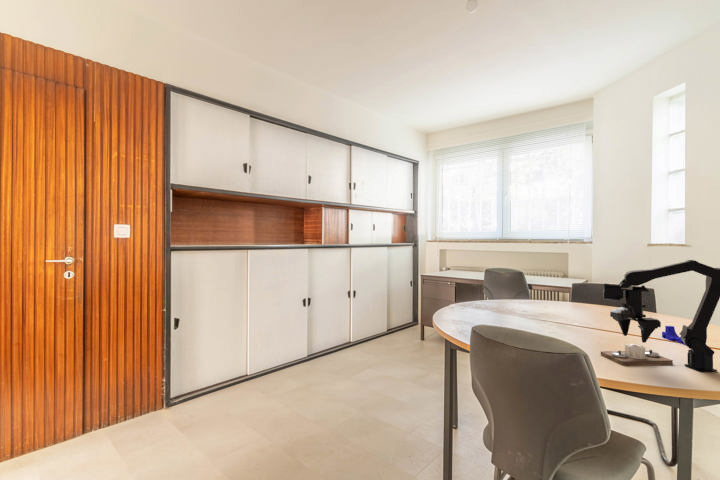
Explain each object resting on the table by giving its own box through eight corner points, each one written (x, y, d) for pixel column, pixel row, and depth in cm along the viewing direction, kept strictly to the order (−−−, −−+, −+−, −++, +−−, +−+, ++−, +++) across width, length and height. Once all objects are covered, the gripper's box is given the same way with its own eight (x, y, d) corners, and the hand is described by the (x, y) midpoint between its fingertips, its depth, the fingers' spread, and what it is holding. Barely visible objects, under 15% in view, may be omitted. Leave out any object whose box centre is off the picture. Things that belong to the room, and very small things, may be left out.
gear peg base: (662, 357, 136) (662, 352, 136) (618, 358, 136) (618, 353, 136) (651, 353, 141) (651, 347, 141) (608, 354, 141) (608, 348, 141)
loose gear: (649, 358, 135) (649, 347, 135) (633, 358, 135) (633, 348, 135) (636, 352, 142) (635, 342, 142) (621, 353, 142) (621, 343, 142)
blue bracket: (662, 337, 168) (661, 325, 168) (672, 337, 167) (672, 325, 167) (681, 345, 156) (680, 332, 156) (692, 345, 155) (691, 332, 155)
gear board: (672, 364, 133) (672, 360, 133) (622, 365, 132) (622, 361, 132) (646, 353, 145) (646, 350, 145) (600, 354, 144) (600, 351, 144)
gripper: (598, 297, 148) (598, 333, 148) (633, 306, 129) (633, 346, 129) (623, 297, 148) (623, 332, 148) (661, 305, 129) (662, 346, 129)
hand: (634, 338), depth 138 cm, fingers open, 9 cm apart
